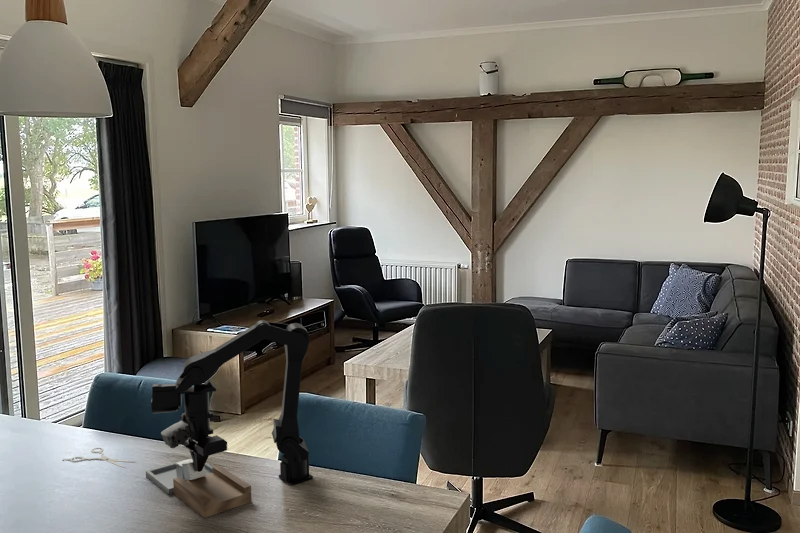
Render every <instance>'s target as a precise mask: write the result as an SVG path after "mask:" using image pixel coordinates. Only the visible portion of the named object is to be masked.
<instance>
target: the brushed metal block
mask: <svg viewBox="0 0 800 533" xmlns="http://www.w3.org/2000/svg"><path fill="white" fill-rule="evenodd" d="M182 467H183V473H184V479H185V480H193V479H196V478H200V477H203V476H206V472H205V466H204V467H203V470H202V471H200V472H198V471H196V468H195V465H194V462H193V461H189V462H186V463H182Z"/></svg>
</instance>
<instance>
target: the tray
mask: <svg viewBox="0 0 800 533" xmlns="http://www.w3.org/2000/svg"><path fill="white" fill-rule="evenodd" d="M188 459H192V457H190V458H187V459H183V460H179V461H176V462H172V463H169V464H166V465H162V466H158V467H154V468H151V469H148V470H145V477H146V478H147V479H148V480H150V481H151V482H152V483H153V484H154V485H156V486H157V487H158V488H160V489H161V490H162V491H163V492H164V493H166V494H167V495H168V496H171V495H174V486H173V479H174V478H177V474H176V463H177V462H181V461H184V460H188ZM192 460H193V459H192ZM204 466H205V472H206V475H207V474H210V473H213V469H212V467H213V466H212V465H211V464H209V463H208V462H206V463H205V465H204Z"/></svg>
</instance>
